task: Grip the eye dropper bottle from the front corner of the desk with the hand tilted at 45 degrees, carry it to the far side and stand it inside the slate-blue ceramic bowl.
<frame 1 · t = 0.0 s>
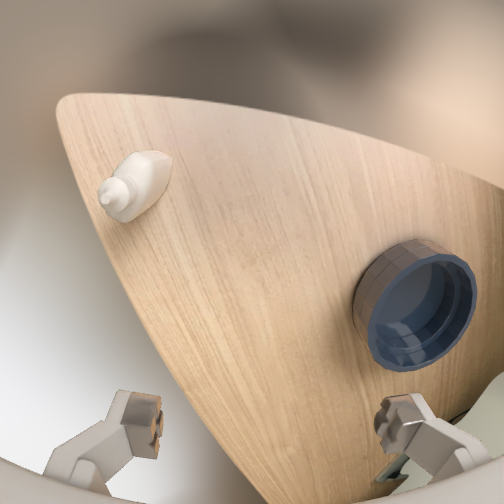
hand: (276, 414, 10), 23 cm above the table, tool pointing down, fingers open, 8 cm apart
bowl: (406, 296, 35), on the table
eye dropper bottle: (152, 178, 30), on the table
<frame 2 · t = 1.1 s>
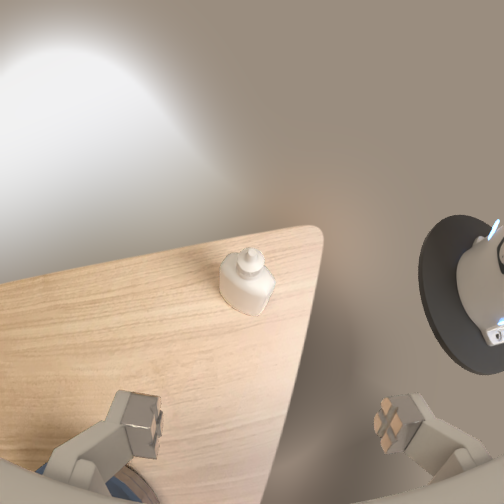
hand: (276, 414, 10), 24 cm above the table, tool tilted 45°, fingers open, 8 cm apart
eye dropper bottle: (242, 298, 38), on the table
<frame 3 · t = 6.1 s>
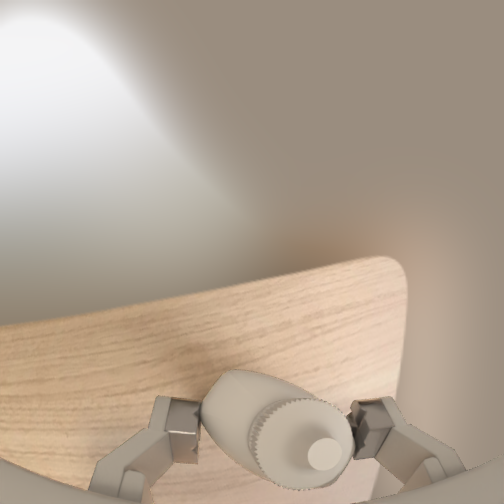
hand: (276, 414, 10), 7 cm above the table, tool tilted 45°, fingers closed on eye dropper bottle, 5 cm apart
eye dropper bottle: (255, 420, 16), on the table, touching gripper
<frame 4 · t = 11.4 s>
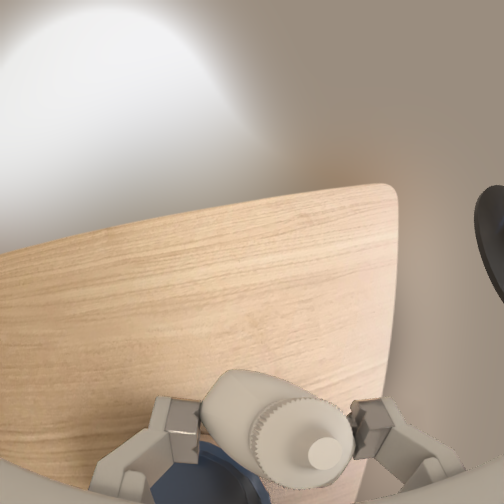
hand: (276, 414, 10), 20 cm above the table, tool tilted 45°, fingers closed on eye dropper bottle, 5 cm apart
bowl: (187, 498, 23), on the table
eye dropper bottle: (256, 419, 16), point 13 cm above the table, touching gripper
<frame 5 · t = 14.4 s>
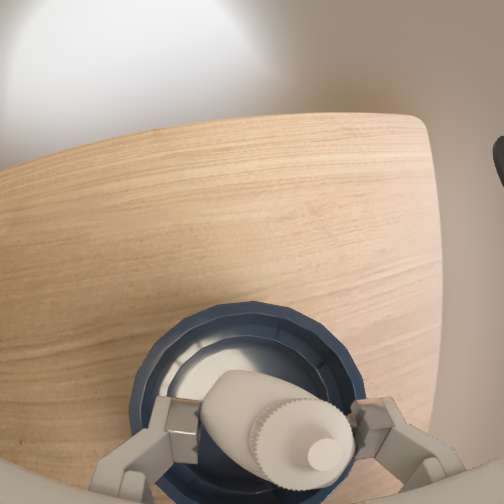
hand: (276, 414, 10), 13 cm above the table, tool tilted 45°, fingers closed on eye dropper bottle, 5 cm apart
bowl: (245, 414, 22), on the table
eye dropper bottle: (255, 420, 16), point 7 cm above the table, touching gripper
when the fingers open (7 cm above the table, at t = 16.7 s): eye dropper bottle stays where it is, resting on bowl.
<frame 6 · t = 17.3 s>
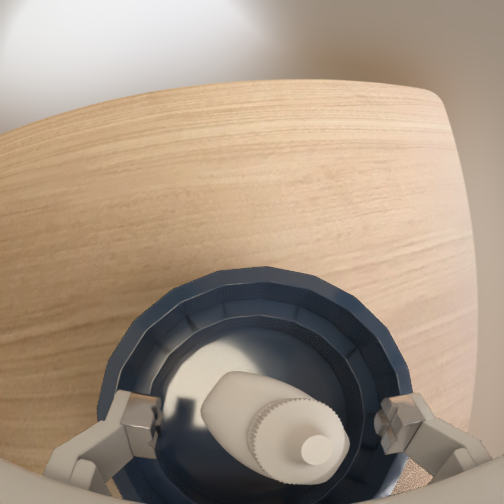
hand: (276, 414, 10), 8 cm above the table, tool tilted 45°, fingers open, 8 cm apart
bowl: (253, 418, 17), on the table
eye dropper bottle: (255, 419, 17), resting on bowl
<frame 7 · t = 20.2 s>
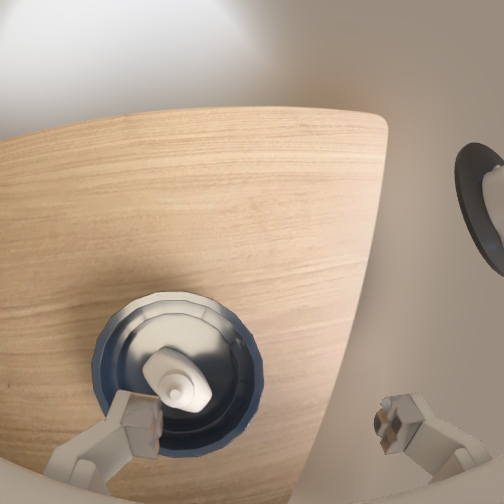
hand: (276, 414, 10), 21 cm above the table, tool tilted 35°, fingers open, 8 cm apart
bowl: (177, 370, 30), on the table
eye dropper bottle: (178, 371, 29), resting on bowl
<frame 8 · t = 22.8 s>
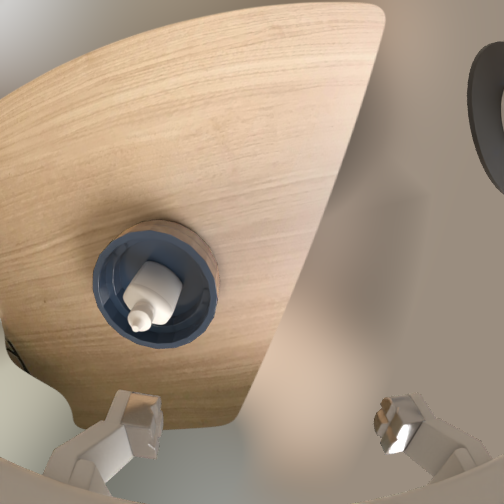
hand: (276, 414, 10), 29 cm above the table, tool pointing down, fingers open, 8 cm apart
bowl: (161, 275, 39), on the table
eye dropper bottle: (161, 277, 39), resting on bowl
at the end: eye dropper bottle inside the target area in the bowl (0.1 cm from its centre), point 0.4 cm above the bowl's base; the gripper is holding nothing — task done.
